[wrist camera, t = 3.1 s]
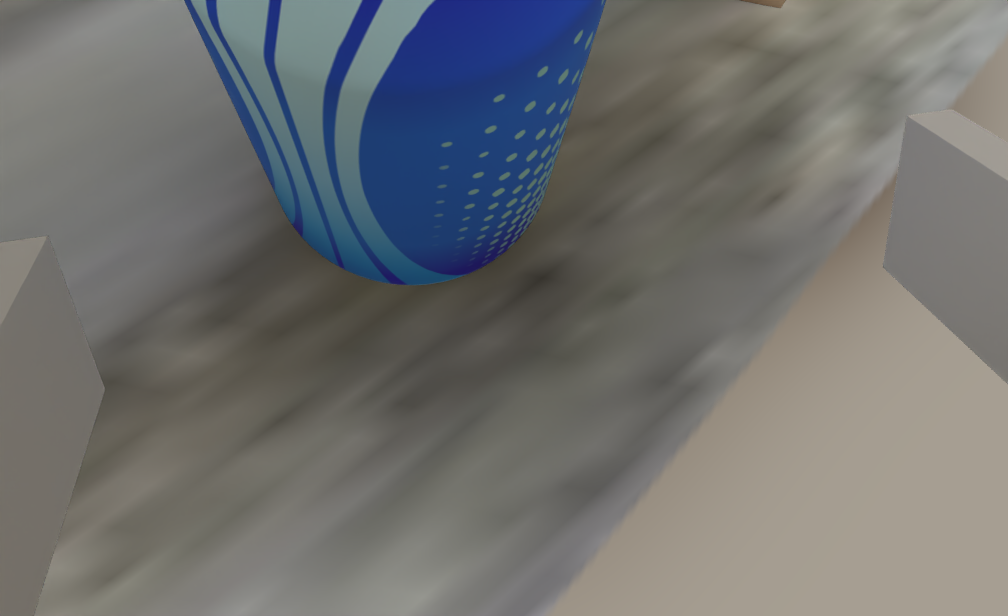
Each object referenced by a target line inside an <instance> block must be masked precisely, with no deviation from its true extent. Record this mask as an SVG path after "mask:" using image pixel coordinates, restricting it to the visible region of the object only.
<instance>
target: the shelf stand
mask: <svg viewBox="0 0 1008 616" xmlns="http://www.w3.org/2000/svg"><path fill="white" fill-rule="evenodd" d="M741 1H746V2H752V3H757V4H762V5H767V6H772V7H778V8H781V7H782V5H783V4H784V2H785V1H786V0H741Z"/></svg>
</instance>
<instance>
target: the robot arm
mask: <svg viewBox="0 0 1008 616" xmlns="http://www.w3.org/2000/svg"><path fill="white" fill-rule="evenodd" d="M883 268H884V269H885V270H886V271H888V272H889V273H890V274H891V275H892V276H893V277H894V278H895V279H896V280H897V281H898V282H899V283H900V284H902V285H903V286H904V287H905V288H906V289H907V290H908V291H909V292H910V293H911V294H912V295H913V296H914V297H915V298H916V299H918V301H920V302H921V303H922V304H923V305H924V306H925V307H926V308H927V309H928V310H929V311H930V312H931V313H932V314H933V315H935V316H936V317H937V318H938V319H939V320H940V321H941V322H942V323H943V324H944V325H945V326H946V327H947V328H948V329H949V330H951V331H952V332H953V333H954V334H955V335H956V336H957V337H958V338H959V339H960V340H961V341H962V342H963V343H964V344H965V345H967V346H968V347H969V348H970V349H971V350H972V351H973V352H974V353H975V354H976V355H977V356H978V357H980V359H981V360H983V361H984V362H985V363H986V364H987V365H988V366H989V367H990V368H991V369H992V370H993V371H994V372H995V373H996V374H998V375H999V376H1000V377H1001V378H1002V379H1003V380H1004V381H1005V382H1006V383H1007V384H1008V142H1007V141H1005V140H1003V139H1002V138H1000V137H998V136H996V135H995V134H993V133H991V132H990V131H988V130H986V129H984V128H983V127H981V126H979V125H978V124H976V123H974V122H973V121H971V120H969V119H967V118H966V117H964V116H963V115H961V114H959V113H957V112H956V111H954V110H952V109H950V110H943V111H936V112H928V113H921V114H914V115H907V116H906V123H905V129H904V136H903V142H902V148H901V155H900V161H899V167H898V174H897V180H896V187H895V193H894V200H893V206H892V212H891V218H890V225H889V231H888V238H887V244H886V250H885V257H884V263H883ZM104 392H105V388H104V385H103V382H102V380H101V377H100V374H99V372H98V369H97V366H96V364H95V361H94V358H93V355H92V353H91V350H90V347H89V345H88V342H87V339H86V337H85V334H84V331H83V329H82V326H81V323H80V320H79V318H78V315H77V312H76V310H75V307H74V304H73V302H72V299H71V296H70V293H69V291H68V288H67V285H66V283H65V280H64V277H63V275H62V272H61V269H60V266H59V264H58V261H57V258H56V256H55V253H54V250H53V248H52V245H51V242H50V239H49V237H48V236H42V237H35V238H28V239H20V240H13V241H6V242H0V616H34V613H35V610H36V607H37V604H38V600H39V597H40V594H41V591H42V588H43V585H44V581H45V578H46V575H47V572H48V569H49V566H50V562H51V559H52V556H53V553H54V550H55V547H56V543H57V540H58V537H59V534H60V531H61V528H62V524H63V521H64V518H65V515H66V512H67V509H68V505H69V502H70V499H71V496H72V493H73V490H74V487H75V483H76V480H77V477H78V474H79V471H80V468H81V464H82V461H83V458H84V455H85V452H86V449H87V445H88V442H89V439H90V436H91V433H92V430H93V426H94V423H95V420H96V417H97V414H98V411H99V407H100V404H101V401H102V398H103V395H104Z"/></svg>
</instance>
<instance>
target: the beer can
mask: <svg viewBox="0 0 1008 616" xmlns="http://www.w3.org/2000/svg"><path fill="white" fill-rule="evenodd" d="M184 1H185V3H186V5H187V7H188V10H189V12H190V14H191V16H192V18H193V20H194V22H195V24H196V26H197V29H198V31H199V33H200V35H201V37H202V39H203V41H204V43H205V46H206V48H207V50H208V52H209V54H210V56H211V58H212V60H213V62H214V65H215V67H216V69H217V71H218V73H219V75H220V77H221V79H222V81H223V84H224V86H225V88H226V90H227V92H228V94H229V96H230V98H231V101H232V103H233V105H234V107H235V109H236V111H237V113H238V115H239V117H240V120H241V122H242V124H243V126H244V128H245V130H246V132H247V134H248V136H249V139H250V141H251V143H252V145H253V147H254V149H255V151H256V153H257V156H258V158H259V160H260V162H261V164H262V166H263V168H264V170H265V172H266V175H267V177H268V179H269V181H270V183H271V185H272V187H273V189H274V191H275V194H276V196H277V198H278V200H279V202H280V204H281V206H282V208H283V210H284V212H285V214H286V216H287V217H288V219H289V221H290V222H291V224H292V225H293V227H294V228H295V229H296V230H297V232H298V233H299V234H300V236H301V237H302V238H303V239H304V240H305V241H306V242H307V243H308V244H309V245H310V246H311V247H312V248H314V249H315V250H316V251H317V252H318V253H319V254H321V255H322V256H323V257H325V258H326V259H328V260H329V261H331V262H332V263H334V264H335V265H337V266H339V267H341V268H343V269H344V270H347V271H349V272H351V273H353V274H356V275H358V276H361V277H364V278H367V279H370V280H374V281H378V282H383V283H389V284H397V285H427V284H434V283H440V282H445V281H449V280H452V279H456V278H459V277H462V276H464V275H467V274H470V273H472V272H474V271H476V270H478V269H480V268H482V267H484V266H485V265H487V264H489V263H490V262H492V261H493V260H495V259H496V258H497V257H499V256H500V255H502V254H503V253H504V252H505V251H506V250H507V249H509V248H510V247H511V246H512V245H513V244H514V243H515V242H516V241H517V240H518V239H519V238H520V236H521V235H522V234H523V233H524V232H525V230H526V229H527V228H528V226H529V225H530V223H531V222H532V220H533V219H534V217H535V215H536V213H537V212H538V210H539V207H540V205H541V203H542V201H543V198H544V195H545V192H546V189H547V186H548V183H549V180H550V177H551V173H552V170H553V167H554V164H555V161H556V158H557V154H558V151H559V148H560V145H561V142H562V139H563V135H564V132H565V129H566V126H567V123H568V119H569V116H570V113H571V110H572V107H573V104H574V100H575V97H576V94H577V91H578V88H579V85H580V81H581V78H582V75H583V72H584V69H585V66H586V62H587V59H588V56H589V53H590V50H591V46H592V43H593V40H594V37H595V34H596V31H597V27H598V24H599V21H600V18H601V15H602V12H603V8H604V5H605V2H606V0H184Z"/></svg>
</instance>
